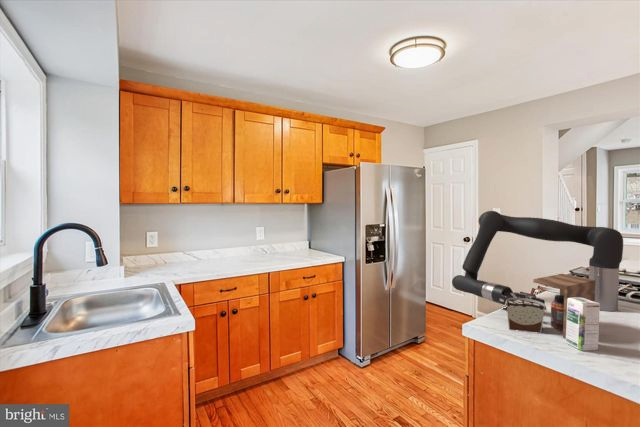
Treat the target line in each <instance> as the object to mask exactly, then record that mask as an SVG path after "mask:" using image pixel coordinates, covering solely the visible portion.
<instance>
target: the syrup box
mask: <svg viewBox="0 0 640 427" xmlns="http://www.w3.org/2000/svg"><path fill="white" fill-rule="evenodd" d="M600 312H601V310H600V303H596V302H593V301H590V300H587V299H585V298H579V297H573V298H567V322H566V339H565V344H568V345H569V346H571V347H573V348H575V349H577V350H578V351H581V352H585V351H598V350H599V332H600V331H599V330H600V329H599V328H600V314H601V313H600Z"/></svg>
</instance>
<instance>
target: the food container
mask: <svg viewBox="0 0 640 427" xmlns="http://www.w3.org/2000/svg"><path fill="white" fill-rule="evenodd" d="M506 304H507V305H506ZM504 307H505V308H506V310H507V311H506V312H507V321H508V322H507V323H508V330H510V331H516V330H518V332H524V331H526V333H533V332H537V333H536V334H542V329H543V322H544V315H545V311H548V310H547V306H546V303H545V304H544V303H542V302H539V301H536V300H532V299H531V298H530V299H526V298H509V299H507V301H506V302H505V305H504Z"/></svg>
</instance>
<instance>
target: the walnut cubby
mask: <svg viewBox="0 0 640 427" xmlns="http://www.w3.org/2000/svg"><path fill="white" fill-rule="evenodd" d="M532 282H533V283H534V284H539V285H543V286H547V287H551V288H557V289H559V295H563V296H564V318H563V331H562V339H565V340H566V322H567V298H573V297H579V298H585V299H587V300H590V301H593V302H595V284H596V280H593V279H589V277H588V278H587V277H581V276H576V275H573V274H572V275H570V274H564V273H558V274H552V275H548V276H543V277H537V278H533V280H532Z"/></svg>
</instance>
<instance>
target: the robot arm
mask: <svg viewBox="0 0 640 427" xmlns="http://www.w3.org/2000/svg"><path fill="white" fill-rule="evenodd" d="M478 225H479V227H478V232H477V233H476V237H475V240H474V241H473V243H472V244H471V247H470V248H469V250H468V252H467V254H466V256H465V259H464V261H463V264H462V267H461V268H462V270H464V271H465V272H464V273H465V275H461V274H458V275H455V276H454V277H453V278H452V280H451V285H452V286H453V288H454V289H455V290H457V291H460V292H463V293H468V294H472V295H474V296H477V297H480V298H483V299H486V300H488V301H491V302H494V303H498V304H500V305H504V306H505V302H506V301H507V299H509V298H526V299H532V300H536V301H539V302H542V303H544V304H545V305H546V303H545V302H546V300H545V299H542V298H539V297H537V295H536V294H532V293H528V292H525V291H524V292H523V291H519V292H517V291H515V292H513V290H512V288H511V287H510V286H507V285H503V284H498V283H494V282H488V281H485V280H480V279H478V276H479V271H480V268H481V267H482V263H483V261H484V259H485V257H486V254H487V251H488V249H489V247H490V245H491V242H493V239H494V237H495V236H496V234H497V233H498V232H504V233H512V234H516V235H519V236H523V237H527V238H531V239H535V240H543V241H547V242H548V241H550V242H567V243H577V244H580V245H586V246H589V247H593V252H592V253H593V254H592V256H591V257H590V258H589V259H588V260H589V262H588V263H589V264H588V279H593V280H596V284H595V302H596V303H600V311H606V312H617V311H618V310H619V288H620V287H619V285H620V264H621V263H622V260H623V254H624V253H623V252H624V238H623V235H622V233H621V232H620V231H619V230H616V229H614V228H611V227H610V228H609V227H605V226H588V225H587V226H586V225H577V224H576V225H575V224H572V223H567V222H564V221H559V220H555V219H554V220H553V219H548V218H543V217H542V218H541V217H530V216H529V217H527V216H526V217H524V216H520V217H518V216H510V215H505V214H500V212H498V211H496V210H487V211H485V212H483V213H482V214H481V215H480V216H479V218H478ZM506 306H507V304H506Z"/></svg>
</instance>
